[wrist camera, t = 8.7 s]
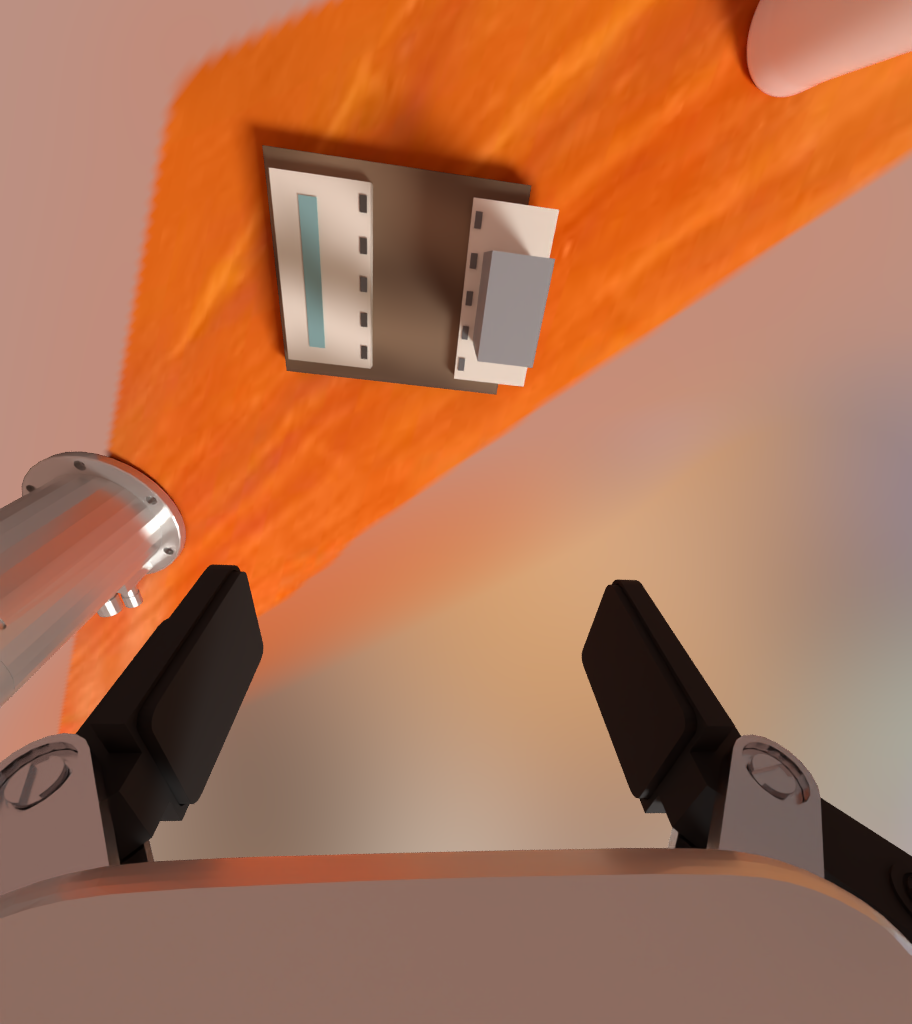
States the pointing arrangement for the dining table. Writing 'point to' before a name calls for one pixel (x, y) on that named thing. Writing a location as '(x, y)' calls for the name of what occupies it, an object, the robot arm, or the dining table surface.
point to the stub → (504, 290)
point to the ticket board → (373, 265)
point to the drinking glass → (823, 40)
